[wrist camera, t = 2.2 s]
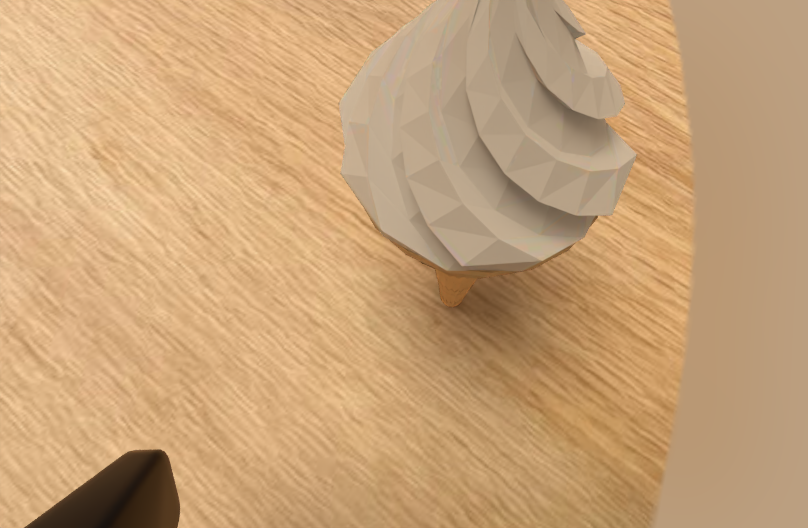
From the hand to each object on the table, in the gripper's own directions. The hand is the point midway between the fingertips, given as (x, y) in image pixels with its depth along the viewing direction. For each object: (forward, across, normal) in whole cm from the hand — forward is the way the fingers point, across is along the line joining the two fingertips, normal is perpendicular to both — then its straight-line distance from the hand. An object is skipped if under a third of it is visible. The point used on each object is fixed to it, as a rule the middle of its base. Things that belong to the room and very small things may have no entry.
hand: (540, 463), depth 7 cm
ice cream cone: (+13, 0, +5) cm, 14 cm away
